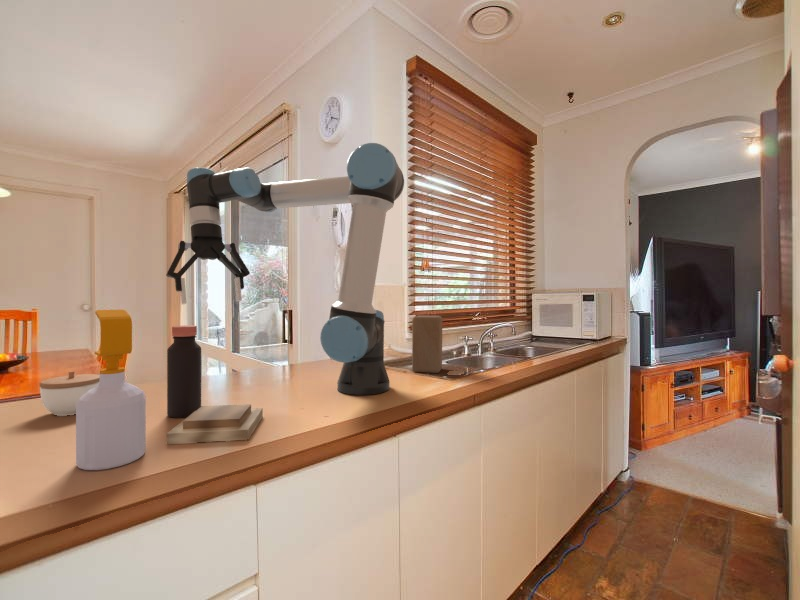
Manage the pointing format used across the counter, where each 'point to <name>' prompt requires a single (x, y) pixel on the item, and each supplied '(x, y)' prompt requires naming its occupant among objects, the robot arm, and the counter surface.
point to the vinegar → (183, 373)
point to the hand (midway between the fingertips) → (212, 302)
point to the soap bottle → (111, 404)
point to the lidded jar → (66, 392)
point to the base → (215, 432)
